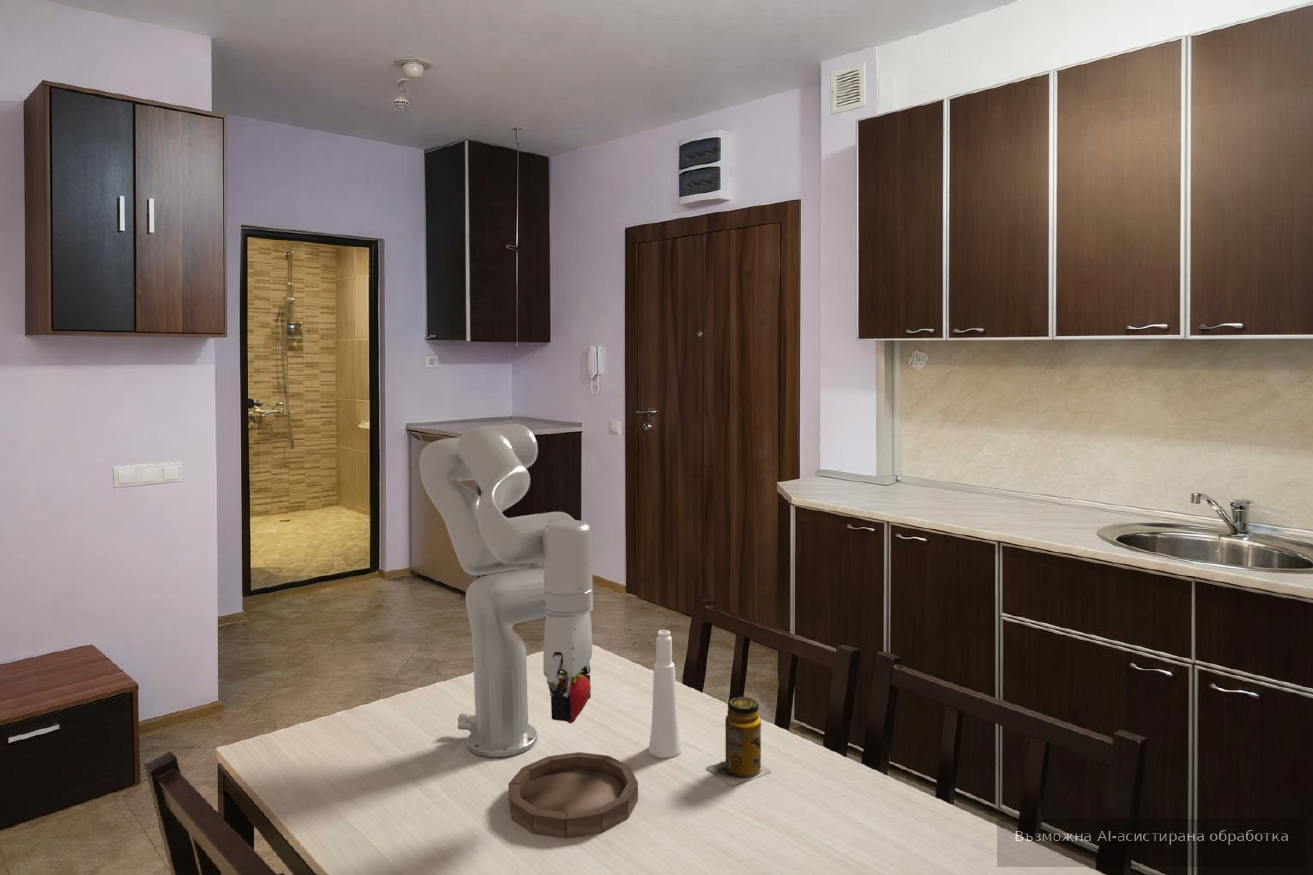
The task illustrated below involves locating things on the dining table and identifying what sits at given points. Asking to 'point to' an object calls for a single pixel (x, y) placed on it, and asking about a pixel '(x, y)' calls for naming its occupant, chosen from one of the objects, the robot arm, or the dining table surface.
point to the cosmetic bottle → (664, 702)
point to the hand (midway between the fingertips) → (571, 708)
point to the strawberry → (578, 692)
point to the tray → (572, 794)
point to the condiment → (741, 743)
